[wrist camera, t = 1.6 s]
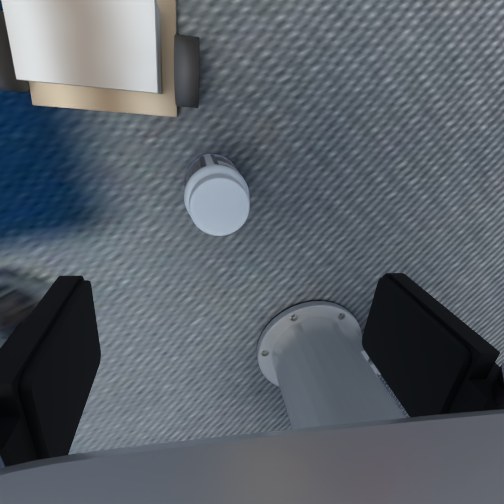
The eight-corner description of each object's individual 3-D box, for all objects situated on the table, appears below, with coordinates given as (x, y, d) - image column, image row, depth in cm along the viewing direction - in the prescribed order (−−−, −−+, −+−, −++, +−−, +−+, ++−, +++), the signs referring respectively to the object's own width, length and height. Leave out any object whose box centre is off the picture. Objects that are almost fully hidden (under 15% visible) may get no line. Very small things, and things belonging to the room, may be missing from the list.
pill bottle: (194, 211, 29) (194, 249, 22) (178, 160, 27) (172, 183, 20) (244, 198, 30) (261, 231, 22) (232, 146, 28) (246, 163, 20)
